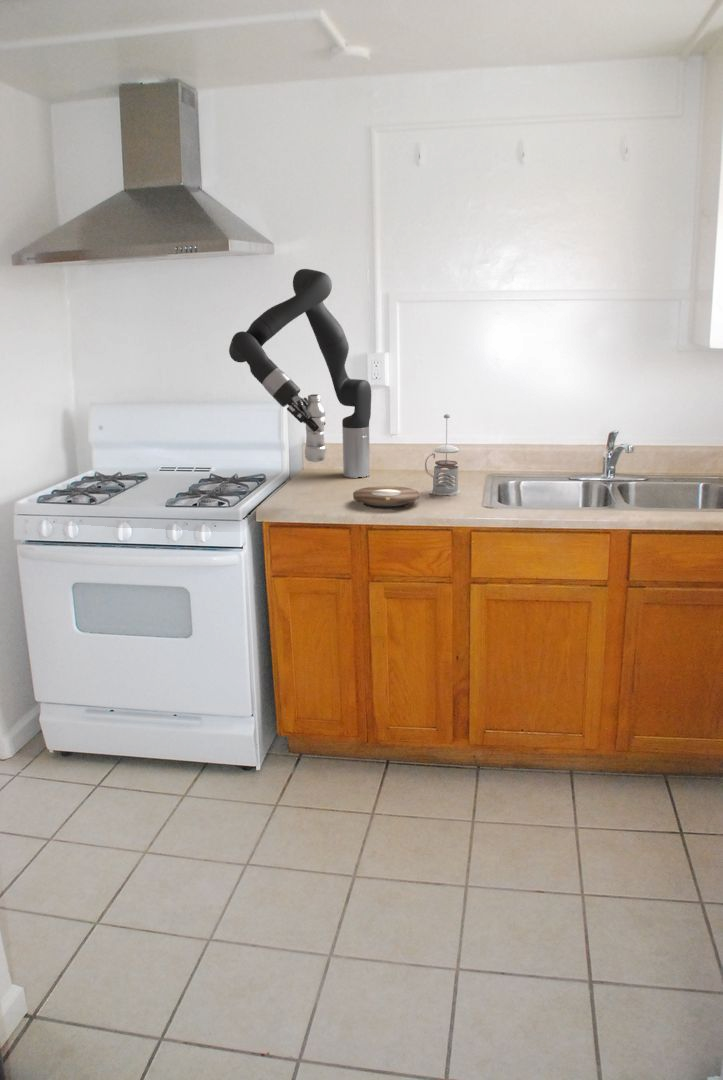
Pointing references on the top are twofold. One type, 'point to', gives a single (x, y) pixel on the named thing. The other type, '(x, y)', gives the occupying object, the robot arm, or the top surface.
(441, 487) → the french press
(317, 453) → the plastic bottle
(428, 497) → the top surface
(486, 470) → the top surface
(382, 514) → the top surface
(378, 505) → the turntable base
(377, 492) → the turntable platter
